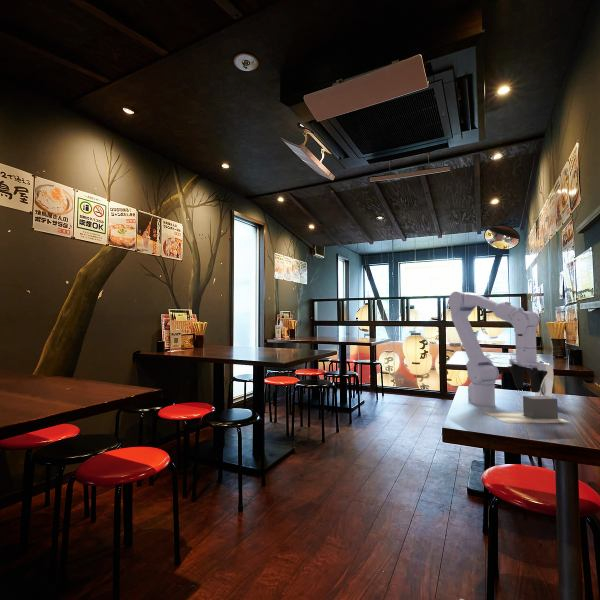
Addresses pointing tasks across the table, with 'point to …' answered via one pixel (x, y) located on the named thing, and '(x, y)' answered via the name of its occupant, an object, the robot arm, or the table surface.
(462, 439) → the table surface
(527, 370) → the robot arm
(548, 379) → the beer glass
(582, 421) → the table surface
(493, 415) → the header board
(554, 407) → the connector cap
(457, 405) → the table surface
